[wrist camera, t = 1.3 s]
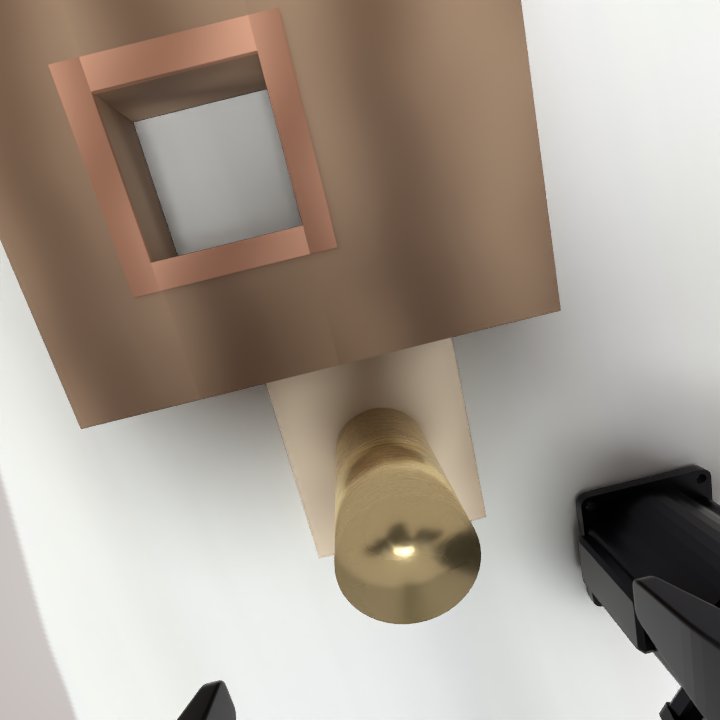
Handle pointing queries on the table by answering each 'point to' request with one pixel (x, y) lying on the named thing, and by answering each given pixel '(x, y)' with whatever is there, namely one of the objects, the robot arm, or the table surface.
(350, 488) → the brass peg
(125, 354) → the walnut board
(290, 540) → the table surface
